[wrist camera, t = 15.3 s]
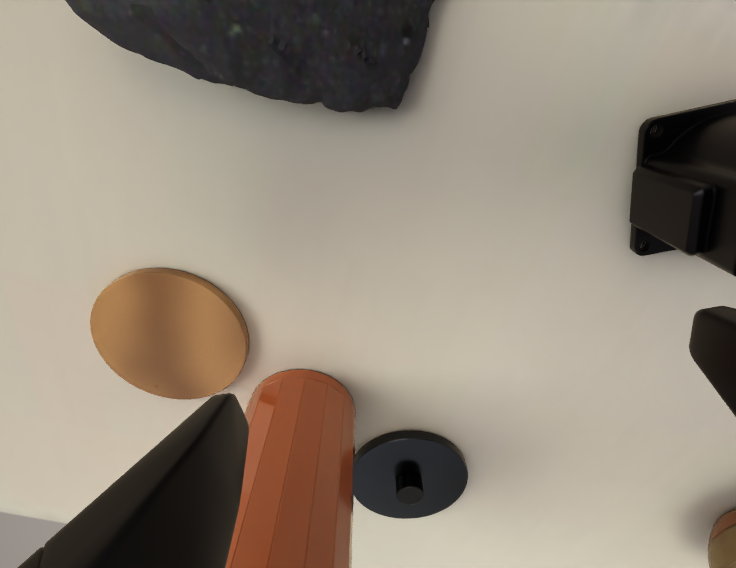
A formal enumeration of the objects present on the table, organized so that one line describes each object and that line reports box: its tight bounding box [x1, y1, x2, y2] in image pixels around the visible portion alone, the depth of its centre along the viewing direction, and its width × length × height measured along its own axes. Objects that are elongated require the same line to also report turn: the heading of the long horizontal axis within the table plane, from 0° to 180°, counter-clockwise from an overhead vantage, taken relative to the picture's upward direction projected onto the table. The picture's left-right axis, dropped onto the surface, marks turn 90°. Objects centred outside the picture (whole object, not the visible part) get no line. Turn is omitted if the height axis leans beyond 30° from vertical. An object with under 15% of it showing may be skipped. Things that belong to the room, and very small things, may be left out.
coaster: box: [90, 268, 249, 399], centre depth 23 cm, size 8×8×1 cm
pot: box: [225, 370, 356, 568], centre depth 20 cm, size 7×7×12 cm
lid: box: [354, 431, 468, 519], centre depth 27 cm, size 8×8×2 cm
